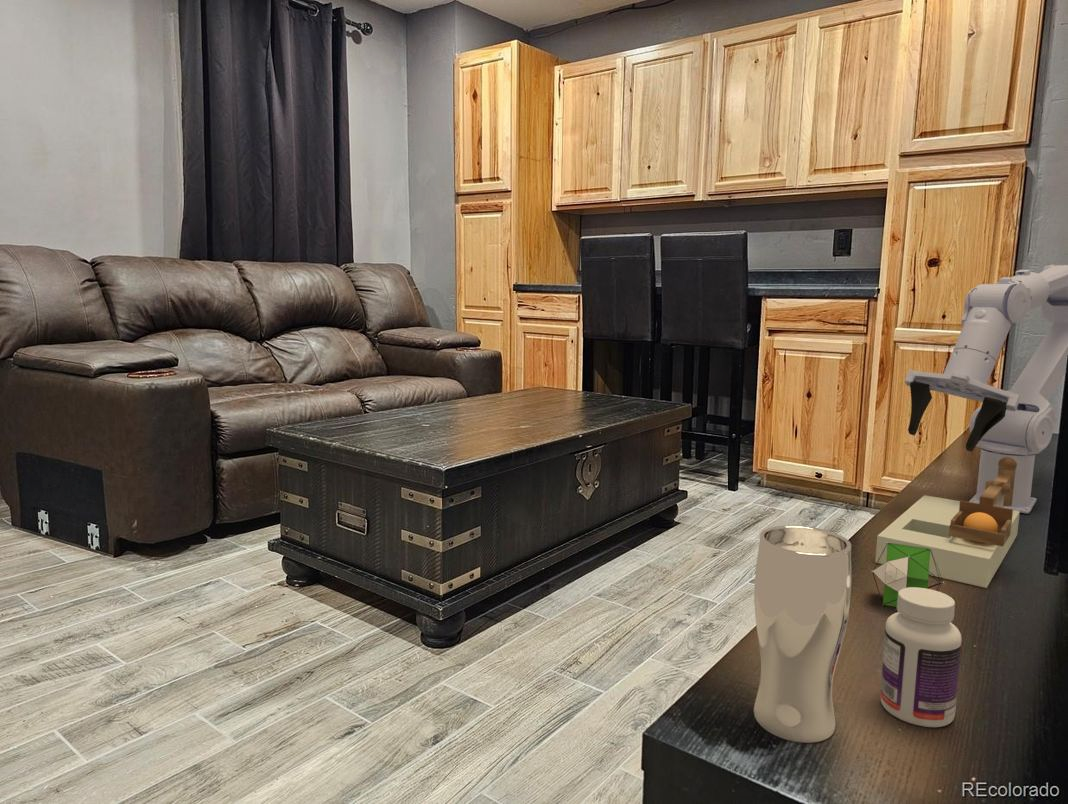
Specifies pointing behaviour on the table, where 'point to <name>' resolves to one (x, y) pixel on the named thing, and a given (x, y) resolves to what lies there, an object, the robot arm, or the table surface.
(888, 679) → the pill bottle
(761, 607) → the beer glass
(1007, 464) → the lever
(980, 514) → the ball
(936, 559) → the cream shape sorter
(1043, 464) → the table surface
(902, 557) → the geometric puzzle
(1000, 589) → the table surface
